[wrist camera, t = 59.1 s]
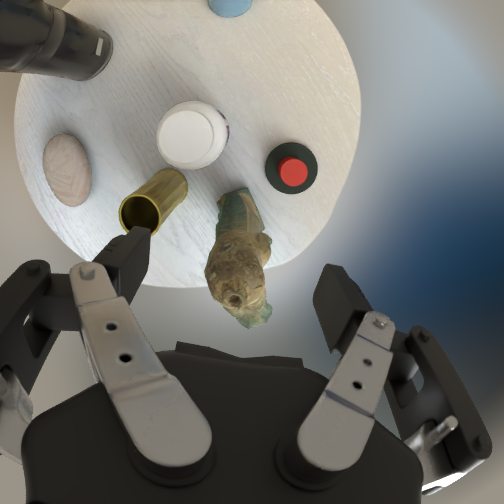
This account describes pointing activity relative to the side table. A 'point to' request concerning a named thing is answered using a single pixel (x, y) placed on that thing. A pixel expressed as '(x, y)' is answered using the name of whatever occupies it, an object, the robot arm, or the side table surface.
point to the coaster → (290, 151)
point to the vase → (153, 201)
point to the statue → (240, 260)
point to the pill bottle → (192, 135)
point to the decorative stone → (67, 169)
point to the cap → (292, 171)
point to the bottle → (229, 7)
